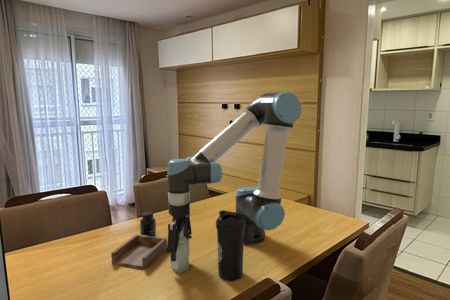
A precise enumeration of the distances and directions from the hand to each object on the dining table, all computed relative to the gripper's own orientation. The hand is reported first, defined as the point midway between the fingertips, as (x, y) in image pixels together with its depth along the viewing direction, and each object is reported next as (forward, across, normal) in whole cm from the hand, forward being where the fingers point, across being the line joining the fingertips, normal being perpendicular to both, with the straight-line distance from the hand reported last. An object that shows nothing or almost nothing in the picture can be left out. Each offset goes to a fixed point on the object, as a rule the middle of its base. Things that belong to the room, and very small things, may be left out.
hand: (180, 261), depth 110 cm
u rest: (+2, -4, -19) cm, 20 cm away
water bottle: (+3, -1, +19) cm, 19 cm away
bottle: (+2, 0, 0) cm, 2 cm away
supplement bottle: (+3, -19, -24) cm, 31 cm away
